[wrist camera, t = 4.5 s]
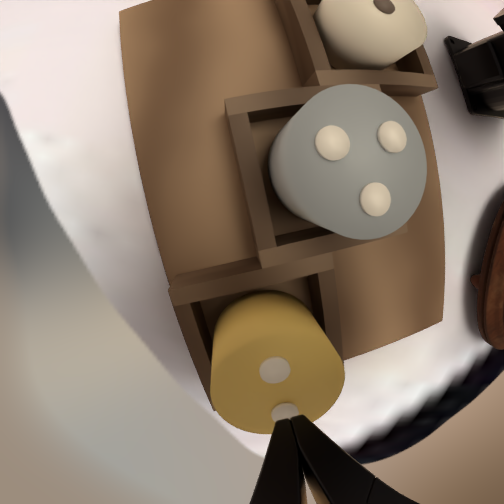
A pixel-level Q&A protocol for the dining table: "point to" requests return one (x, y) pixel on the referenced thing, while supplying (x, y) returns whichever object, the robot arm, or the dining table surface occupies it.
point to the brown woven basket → (492, 286)
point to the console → (266, 173)
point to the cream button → (369, 32)
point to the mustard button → (272, 362)
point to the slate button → (350, 163)
